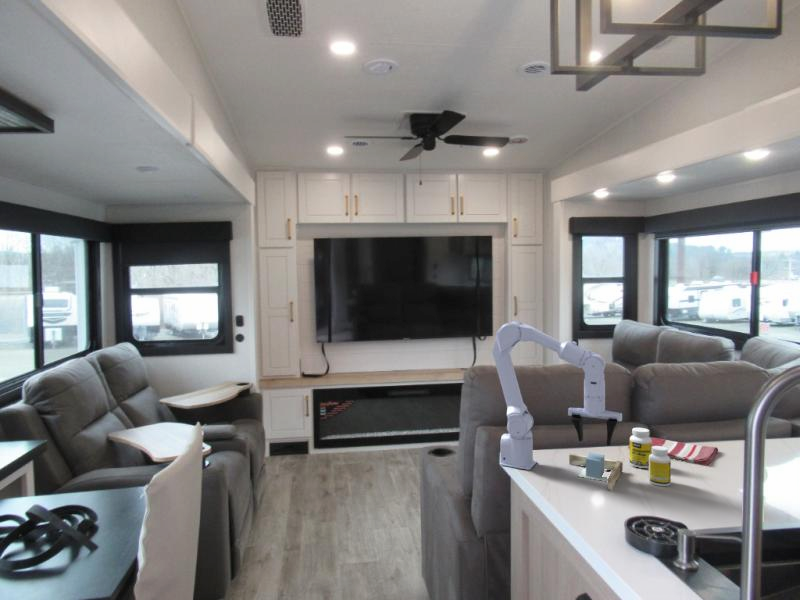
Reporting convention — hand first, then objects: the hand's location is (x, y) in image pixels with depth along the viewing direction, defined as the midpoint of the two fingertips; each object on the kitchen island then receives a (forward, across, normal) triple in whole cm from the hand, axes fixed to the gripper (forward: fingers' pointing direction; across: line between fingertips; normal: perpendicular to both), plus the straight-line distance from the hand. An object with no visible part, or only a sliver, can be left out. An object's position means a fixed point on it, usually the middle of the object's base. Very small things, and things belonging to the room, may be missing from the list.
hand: (594, 442), depth 147 cm
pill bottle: (+10, +11, +14) cm, 20 cm away
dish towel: (+10, +18, +33) cm, 39 cm away
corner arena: (+9, -1, -2) cm, 10 cm away
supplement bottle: (+10, +17, +2) cm, 19 cm away
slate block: (+9, 0, 0) cm, 9 cm away
